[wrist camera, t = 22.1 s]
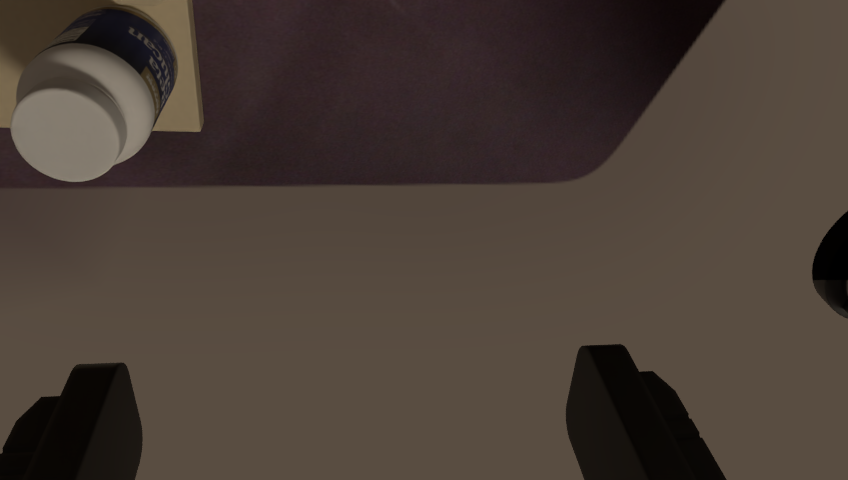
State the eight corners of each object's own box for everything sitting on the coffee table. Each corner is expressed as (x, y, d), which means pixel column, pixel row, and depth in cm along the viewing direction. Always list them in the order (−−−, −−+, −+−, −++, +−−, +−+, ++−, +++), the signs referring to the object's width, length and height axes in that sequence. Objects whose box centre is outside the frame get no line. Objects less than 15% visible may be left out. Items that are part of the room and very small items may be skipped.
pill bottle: (202, 73, 36) (168, 157, 28) (121, 125, 37) (64, 220, 29) (129, -20, 33) (66, 44, 25) (42, 38, 34) (-45, 118, 26)
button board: (221, 122, 39) (215, 145, 37) (-152, 113, 37) (-187, 137, 34) (199, -140, 32) (189, -134, 30) (-265, -175, 30) (-320, -171, 27)
